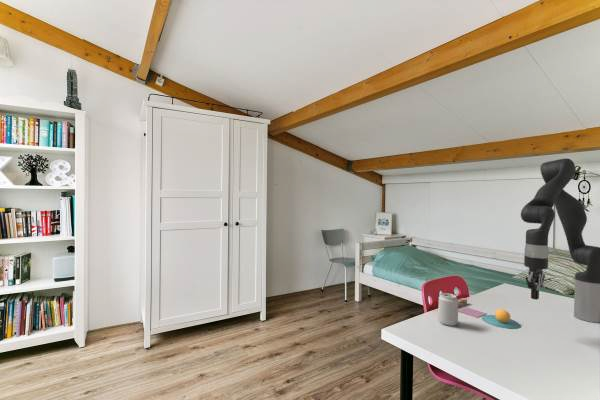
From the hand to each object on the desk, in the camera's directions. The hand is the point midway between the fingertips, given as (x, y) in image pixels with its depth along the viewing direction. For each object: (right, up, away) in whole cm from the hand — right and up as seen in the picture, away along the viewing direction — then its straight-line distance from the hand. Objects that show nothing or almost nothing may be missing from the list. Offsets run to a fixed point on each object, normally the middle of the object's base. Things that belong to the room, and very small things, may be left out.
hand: (534, 298), depth 120 cm
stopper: (-18, -13, +27) cm, 35 cm away
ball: (-7, -11, +9) cm, 16 cm away
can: (-31, -13, +7) cm, 35 cm away
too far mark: (-14, -13, +20) cm, 28 cm away
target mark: (-7, -13, +10) cm, 18 cm away
